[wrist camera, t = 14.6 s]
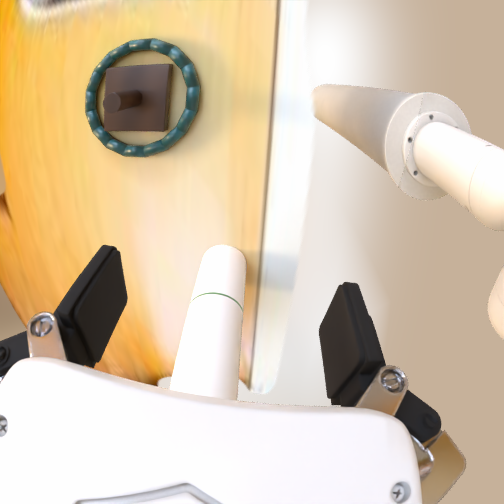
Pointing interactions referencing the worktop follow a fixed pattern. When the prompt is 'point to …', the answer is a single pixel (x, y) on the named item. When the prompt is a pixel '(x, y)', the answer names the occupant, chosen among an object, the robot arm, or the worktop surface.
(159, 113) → the stand
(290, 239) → the worktop surface
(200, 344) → the cylindrical container
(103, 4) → the worktop surface
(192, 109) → the ring
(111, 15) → the worktop surface
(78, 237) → the worktop surface
